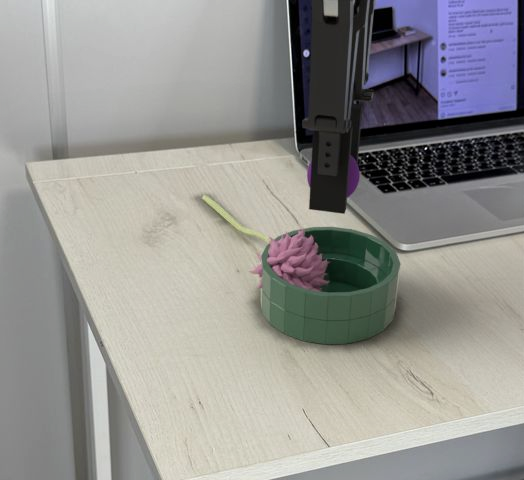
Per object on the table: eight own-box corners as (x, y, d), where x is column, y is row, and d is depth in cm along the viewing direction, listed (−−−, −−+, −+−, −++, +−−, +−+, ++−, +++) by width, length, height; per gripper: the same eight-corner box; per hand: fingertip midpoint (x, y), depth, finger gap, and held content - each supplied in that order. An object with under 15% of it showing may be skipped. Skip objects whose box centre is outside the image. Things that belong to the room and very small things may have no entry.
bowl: (401, 286, 78) (407, 235, 75) (384, 358, 69) (390, 305, 66) (278, 269, 80) (279, 219, 77) (246, 337, 71) (246, 284, 68)
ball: (361, 192, 70) (365, 143, 67) (352, 214, 66) (357, 164, 64) (311, 185, 70) (314, 137, 68) (300, 207, 67) (303, 157, 65)
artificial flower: (166, 235, 90) (272, 329, 70) (170, 167, 87) (282, 245, 67) (226, 233, 93) (344, 323, 73) (232, 167, 90) (357, 242, 70)
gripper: (323, -166, 62) (308, 148, 76) (265, -134, 49) (259, 241, 62) (430, -161, 60) (395, 158, 74) (401, -127, 47) (364, 255, 61)
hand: (333, 195), depth 68 cm, fingers closed on ball, 4 cm apart
